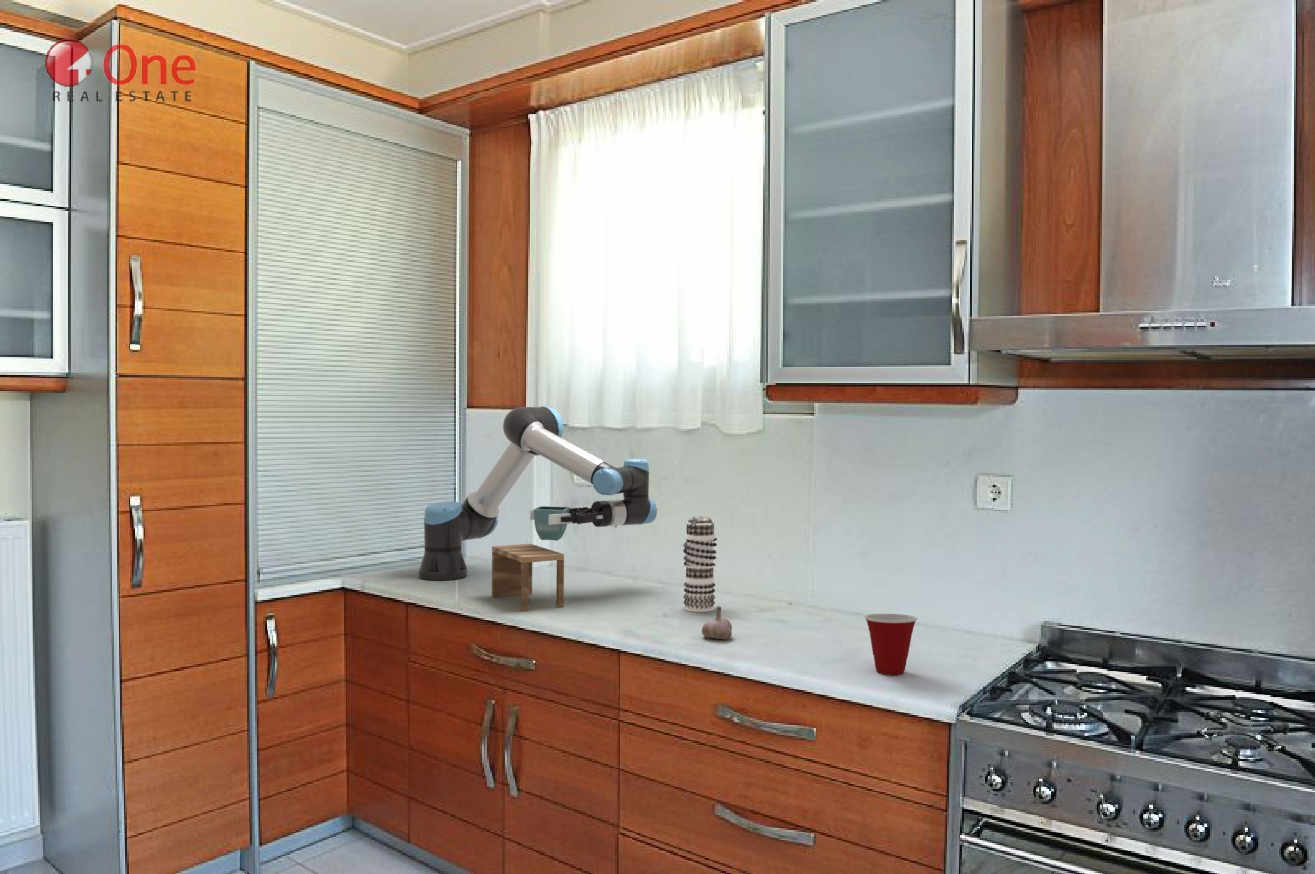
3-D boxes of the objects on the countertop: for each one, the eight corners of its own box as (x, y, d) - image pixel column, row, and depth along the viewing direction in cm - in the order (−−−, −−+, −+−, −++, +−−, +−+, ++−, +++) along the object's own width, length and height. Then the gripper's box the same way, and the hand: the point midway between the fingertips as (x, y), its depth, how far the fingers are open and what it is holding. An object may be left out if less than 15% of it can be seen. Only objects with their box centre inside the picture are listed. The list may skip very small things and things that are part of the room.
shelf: (491, 596, 280) (492, 546, 280) (530, 592, 286) (530, 543, 286) (523, 611, 261) (523, 557, 260) (563, 606, 267) (564, 554, 267)
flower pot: (569, 537, 280) (569, 506, 280) (563, 542, 271) (564, 509, 271) (539, 536, 281) (539, 505, 280) (532, 541, 272) (532, 509, 272)
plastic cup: (903, 663, 211) (904, 609, 211) (924, 677, 201) (926, 620, 200) (855, 665, 210) (856, 610, 209) (874, 679, 199) (875, 621, 199)
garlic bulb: (736, 641, 230) (736, 607, 230) (706, 642, 229) (706, 608, 229) (727, 634, 238) (727, 601, 237) (698, 635, 236) (698, 602, 236)
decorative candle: (721, 610, 264) (722, 518, 263) (689, 612, 261) (690, 519, 260) (708, 604, 272) (709, 515, 272) (677, 606, 269) (678, 516, 269)
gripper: (627, 531, 275) (558, 535, 264) (588, 521, 295) (522, 525, 284) (628, 504, 275) (558, 508, 263) (588, 496, 295) (522, 500, 284)
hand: (539, 517), depth 274 cm, fingers closed on flower pot, 12 cm apart
